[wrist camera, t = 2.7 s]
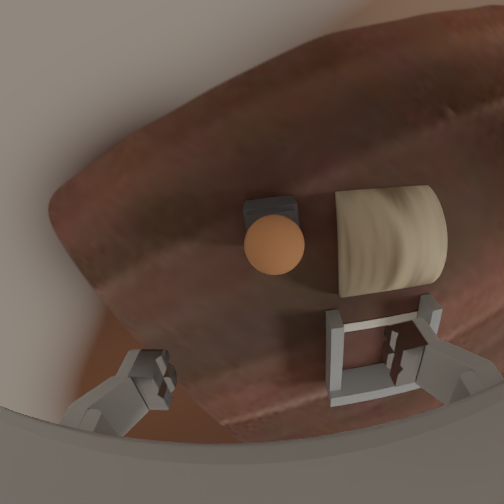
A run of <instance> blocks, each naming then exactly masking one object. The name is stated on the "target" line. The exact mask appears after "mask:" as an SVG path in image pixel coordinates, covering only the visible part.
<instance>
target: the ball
mask: <svg viewBox="0 0 504 504" xmlns="http://www.w3.org/2000/svg"><path fill="white" fill-rule="evenodd" d="M304 247H305V245H304V237H303V234H302V232H301V230H300V228H299V227H298V226H297V224H296V223H295V222H293V221H292V220H291V219H289V218H287V217H285V216H281V215H267V216H264V217H262V218H260V219H258V220H256V221H255V222H254V223H253V224H252V225H251V226H250V228H249V229H248V231H247V233H246V236H245V240H244V249H245V254H246V256H247V259H248V260H249V262H250V263H251V265H252V266H253V267H254V268H256V269H257V270H258V271H260V272H262V273H265V274H269V275H280V274H284V273H286V272H289V271H290V270H292V269H293V268H294V267H295V266H296V265H297V264H298V263H299V262H300V260H301V258H302V256H303V252H304Z"/></svg>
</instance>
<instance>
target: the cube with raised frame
mask: <svg viewBox="0 0 504 504" xmlns="http://www.w3.org/2000/svg"><path fill="white" fill-rule="evenodd" d="M267 215H281V216H285V217H287V218H289V219H291V220H292V221H293V222H295V223H296V224H297V226H298V227H299V228H300V224H299V214H298V204H297V201H296V199H295V197H294V195H287V196H278V197H270V198H262V199H254V200H246V201H245V202H244V206H243V216H244V223H245V230H246V233H247V231H248V229H249V228H250V226H251V225H252V224H253V223H254V222H255V221H256V220H258V219H260V218H262V217H264V216H267Z"/></svg>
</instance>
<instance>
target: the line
mask: <svg viewBox="0 0 504 504" xmlns="http://www.w3.org/2000/svg"><path fill="white" fill-rule="evenodd" d="M417 313H418V311H416V312H411V313H406V314H401V315H395V316H390V317H384V318H379V319H373V320H367V321H361V322H354V323H348V324H343V325H344V332H349V331H356V330H362V329H368V328H374V327H379V326H385V325H390V324H395V323H400V322H404V321H409V320H412V319H416V318H417Z"/></svg>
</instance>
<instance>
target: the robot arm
mask: <svg viewBox="0 0 504 504" xmlns="http://www.w3.org/2000/svg"><path fill="white" fill-rule="evenodd" d="M384 335H385V337H386V340H385V341H384V343H383V347H382V354H383V360H384V363H385V365H386V367H387V368H389V369H391V371H390V377H391V379H392V381H393V383H394V386H395V387H398V386H402V385H406V384H411V383H415V382H416V384H417V385H418V386H420V387H421V388H423V389H424V390H425V391H427V392H428V393H430V394H431V395H432V396H434V397H435V398H437V399H438V400H439V401H441V402H442V403H444V404H445V405H444V406H441V407H439V408H436V409H433V410H430V411H427V412H423V413H420V414H417V415H414V416H410V417H407V418H403V419H399V420H396V421H392V422H388V423H384V424H380V425H376V426H371V427H367V428H362V429H357V430H352V431H347V432H342V433H336V434H330V435H324V436H317V437H310V438H302V439H293V440H283V441H271V442H256V443H229V444H228V443H226V444H225V443H224V444H211V443H180V442H164V441H154V440H144V439H135V438H127V437H123V436H124V435H125V434H126V433H127V432H128V431H129V430H130V429H131V428H132V427H133V426H134V425H135V424H136V423H137V422H138V421H139V420H140V419H141V418H142V417H143V416H144V415H145V414H146V413H147V412H148V411H149V410H169V408H170V405H171V402H172V398H173V397H172V395H171V392H172V391H173V390H174V389H175V388H176V384H177V375H176V370H175V368H174V366H173V365H172V364H171V363H169V360H170V355H169V353H168V351H167V350H165V349H142V350H141V349H131V350H130V351H128V353H127V355H126V357H125V359H124V361H123V363H122V365H121V366H120V368H119V370H118V372H117V374H116V376H112V377H111V378H109V379H107V380H106V381H104V382H103V383H101V384H100V385H98V386H97V387H95V388H94V389H92V390H91V391H90V392H88V393H87V394H85V395H84V396H82V397H81V398H79V399H78V400H76V401H75V402H73V403H72V404H70V406H69V408H68V410H67V411H66V413H65V415H64V417H63V418H62V420H61V422H60V424H55V423H51V422H48V421H44V420H41V419H37V418H34V417H30V416H27V415H24V414H21V413H18V412H15V411H12V410H9V409H7V408H4V407H1V406H0V504H504V378H503V377H502V375H501V374H500V373H499V371H498V370H497V368H496V367H495V366H494V364H493V363H492V362H491V361H489V360H487V359H485V358H482V357H480V356H478V355H476V354H473V353H471V352H469V351H467V350H464V349H462V348H460V347H457V346H455V345H453V344H451V343H448V342H446V341H440V339H439V338H438V337H437V335H436V334H435V332H434V331H433V330H432V328H431V327H430V326H429V324H428V323H427V322H426V320H425V319H424V318H422V317H420V318H416V319H412V320H409V321H404V322H400V323H395V324H390V325H386V327H385V332H384Z"/></svg>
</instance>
